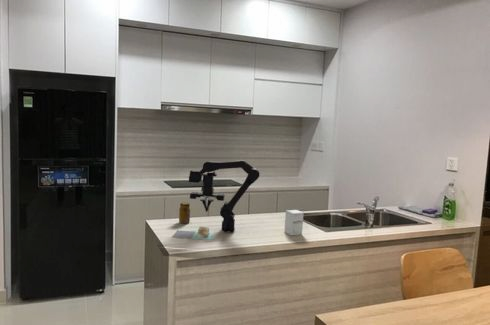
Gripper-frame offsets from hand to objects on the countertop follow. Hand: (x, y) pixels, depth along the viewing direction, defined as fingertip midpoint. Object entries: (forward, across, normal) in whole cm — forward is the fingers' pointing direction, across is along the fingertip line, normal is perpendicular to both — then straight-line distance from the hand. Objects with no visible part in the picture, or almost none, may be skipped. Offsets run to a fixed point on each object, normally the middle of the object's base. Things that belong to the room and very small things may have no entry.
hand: (206, 211), depth 216 cm
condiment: (+10, +14, -7) cm, 18 cm away
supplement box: (+10, -48, -3) cm, 50 cm away
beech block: (+9, -1, +14) cm, 17 cm away
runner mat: (+10, +4, +14) cm, 18 cm away
